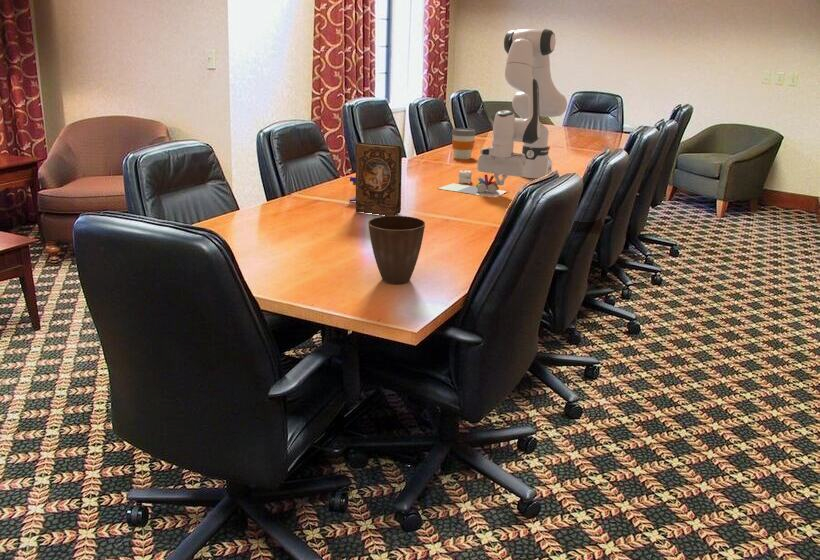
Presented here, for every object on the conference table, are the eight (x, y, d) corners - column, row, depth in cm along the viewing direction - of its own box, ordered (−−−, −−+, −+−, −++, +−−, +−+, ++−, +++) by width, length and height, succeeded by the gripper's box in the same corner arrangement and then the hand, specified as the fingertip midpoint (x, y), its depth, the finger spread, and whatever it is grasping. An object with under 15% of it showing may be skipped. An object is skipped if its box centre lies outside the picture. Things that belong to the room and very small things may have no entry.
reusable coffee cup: (447, 156, 378) (448, 128, 373) (468, 155, 382) (470, 127, 377) (455, 160, 367) (457, 131, 362) (477, 159, 370) (479, 130, 365)
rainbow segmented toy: (497, 194, 289) (499, 177, 287) (474, 193, 291) (475, 176, 288) (499, 190, 297) (500, 173, 295) (476, 189, 298) (477, 172, 296)
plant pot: (358, 284, 183) (358, 225, 178) (380, 267, 197) (381, 212, 191) (411, 292, 178) (413, 232, 173) (430, 275, 192) (432, 219, 186)
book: (353, 212, 255) (353, 144, 246) (359, 209, 260) (359, 142, 251) (395, 217, 250) (397, 147, 241) (400, 214, 255) (402, 145, 246)
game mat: (452, 183, 309) (452, 183, 309) (508, 191, 296) (508, 191, 296) (437, 189, 298) (437, 188, 297) (495, 197, 285) (495, 197, 285)
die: (460, 181, 315) (460, 170, 313) (471, 181, 314) (471, 170, 313) (458, 183, 310) (459, 172, 309) (469, 184, 310) (470, 172, 308)
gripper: (529, 153, 283) (526, 186, 287) (483, 147, 292) (481, 180, 297) (523, 155, 277) (520, 189, 282) (476, 149, 287) (474, 182, 292)
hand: (499, 184), depth 290 cm, fingers closed
